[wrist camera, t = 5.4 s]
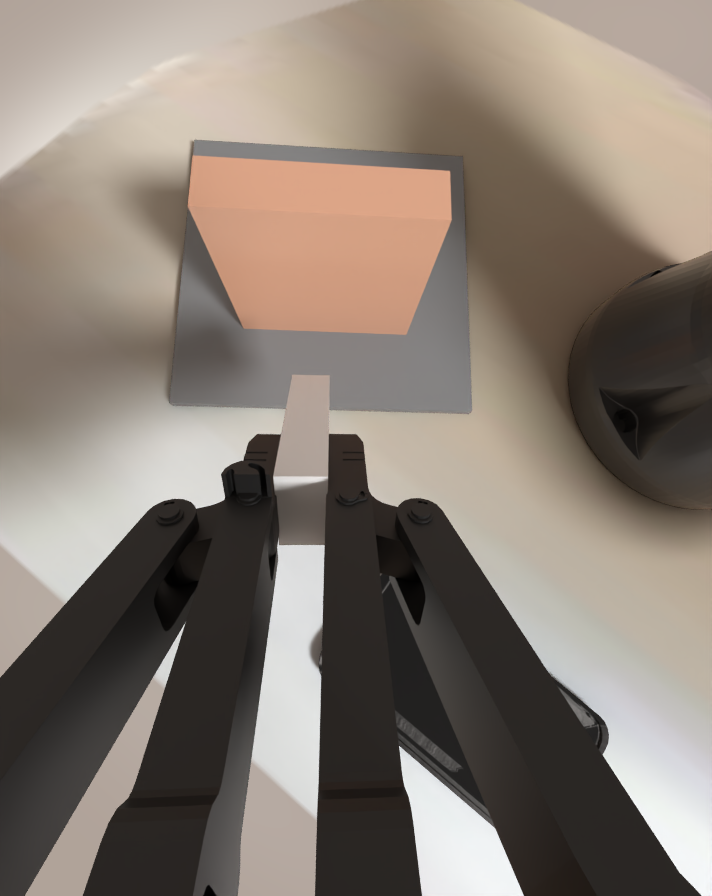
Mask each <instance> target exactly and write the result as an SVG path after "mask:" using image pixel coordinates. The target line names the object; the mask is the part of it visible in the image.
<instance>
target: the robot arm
mask: <svg viewBox="0 0 712 896" xmlns="http://www.w3.org/2000/svg"><path fill="white" fill-rule="evenodd" d="M329 386H330V375H292V379H291V385H290V390H289V395H288V401H287V406H286V411H285V417H284V422H283V427H282V432H281V435H276V434H257V435H256V436H255V437H254V438H253V439H252V440H251V441H250V442H249V443H248V446H247V450H246V454H245V456H244V461H239V462H236V463H234V464H231V465H230V466H228V467H227V468H225V469H224V471H223V472H222V474H221V476H222V482H223V487H224V493H225V500H224V501H222V502H220V503H217V504H214V505H211V506H207V507H203V508H198V509H196V508H195V506H194V505H193V504H192V503H191V502H189V501H187V500H184V499H171V500H167V501H163V502H161V503H159V504H157V505H155V506H153V507H152V508H151V509H150V510H149V511H147V513H146V514H145V515H144V516H143V517H142V518H141V519H140V520H139V522H138V523H137V524H136V525H135V526H134V527H133V528H132V529H131V531H130V532H129V533H128V534H127V535H126V536H125V537H124V539H123V540H122V541H121V542H120V543H119V544H118V545H117V546H116V548H115V549H114V550H113V551H112V552H111V553H110V554H109V555H108V557H107V558H106V559H105V560H104V561H103V562H102V563H101V564H100V566H99V567H98V568H97V569H96V570H95V571H94V572H93V574H92V575H91V576H90V577H89V578H88V579H87V580H86V581H85V583H84V584H83V585H82V586H81V587H80V588H79V589H78V590H77V592H76V593H75V594H74V595H73V596H72V597H71V598H70V599H69V601H68V602H67V603H66V604H65V605H64V606H63V607H62V609H61V610H60V611H59V612H58V613H57V614H56V615H55V616H54V618H53V619H52V620H51V621H50V622H49V623H48V624H47V626H46V627H45V628H44V629H43V630H42V631H41V632H40V633H39V634H38V636H37V637H36V638H35V639H34V640H33V641H32V642H31V644H30V645H29V646H28V647H27V648H26V649H25V651H23V653H22V654H21V655H20V656H19V657H18V658H17V659H16V661H15V662H14V663H13V664H12V665H11V666H10V667H9V668H8V669H7V671H6V672H5V673H4V674H3V675H2V676H1V677H0V896H25V894H26V892H27V891H28V889H29V887H30V886H31V884H32V882H33V881H34V879H35V877H36V875H37V874H38V872H39V870H40V869H41V867H42V865H43V864H44V862H45V860H46V858H47V857H48V855H49V853H50V852H51V850H52V848H53V847H54V844H55V843H56V841H57V840H58V838H59V836H60V835H61V833H62V831H63V830H64V828H65V826H66V824H67V823H68V821H69V819H70V817H71V816H72V814H73V812H74V811H75V809H76V807H77V806H78V804H79V802H80V801H81V799H82V797H83V796H84V794H85V792H86V790H87V789H88V787H89V785H90V784H91V782H92V780H93V778H94V777H95V775H96V773H97V772H98V770H99V768H100V767H101V765H102V763H103V761H104V760H105V758H106V756H107V755H108V753H109V751H110V750H111V748H112V746H113V744H114V743H115V741H116V739H117V738H118V736H119V734H120V732H121V731H122V729H123V727H124V726H125V724H126V722H127V721H128V719H129V717H130V715H131V714H132V712H133V710H134V709H135V707H136V705H137V704H138V702H139V700H140V698H141V697H142V695H143V693H144V692H145V690H146V688H147V686H148V685H149V683H150V681H151V680H152V678H153V676H154V675H155V673H156V671H157V670H158V668H159V666H160V664H161V663H162V661H163V659H164V658H165V656H166V654H167V653H168V651H169V649H170V647H171V646H172V644H173V642H174V641H175V639H176V637H177V636H178V634H179V632H180V630H181V629H182V627H183V625H184V624H185V622H186V624H185V627H184V630H183V633H182V636H181V639H180V643H179V646H178V649H177V652H176V655H175V658H174V662H173V665H172V668H171V671H170V674H169V677H168V681H167V684H166V687H165V690H164V693H163V697H162V700H161V703H160V706H159V710H158V712H157V716H156V719H155V722H154V725H153V729H152V732H151V735H150V738H149V741H148V744H147V747H146V751H145V754H144V757H143V760H142V763H141V767H140V770H139V773H138V776H137V779H136V782H135V785H134V787H133V790H132V792H131V794H130V796H129V798H128V799H127V800H126V801H125V802H124V803H123V804H122V805H121V806H119V807H118V808H117V810H116V811H115V813H114V815H113V816H112V818H111V820H110V822H109V823H108V826H107V829H106V831H105V834H104V836H103V838H102V841H101V843H100V846H99V849H98V852H97V855H96V858H95V862H94V864H93V868H92V870H91V873H90V876H89V879H88V882H87V885H86V888H85V891H84V894H83V896H238V886H239V875H240V844H241V832H242V824H243V817H244V809H245V801H246V794H247V787H248V780H249V772H250V764H251V757H252V750H253V742H254V735H255V727H256V720H257V712H258V705H259V698H260V690H261V683H262V675H263V668H264V660H265V653H266V645H267V638H268V630H269V623H270V616H271V608H272V601H273V593H274V586H275V578H276V571H277V563H278V553H277V544H278V537H279V545H325V556H324V596H323V635H322V675H321V714H320V754H319V789H318V810H317V844H316V882H315V883H316V884H315V896H422V893H421V885H420V876H419V868H418V859H417V851H416V843H415V834H414V826H413V819H412V812H411V807H410V802H409V797H408V795H407V792H406V790H405V787H404V783H403V777H402V770H401V761H400V752H399V743H398V734H397V724H396V715H395V706H394V697H393V688H392V679H391V670H390V661H389V652H388V642H387V633H386V624H385V615H384V606H383V597H382V588H381V579H380V573H381V574H385V575H388V576H389V579H390V582H391V584H392V586H393V589H394V591H395V593H396V596H397V598H398V600H399V603H400V605H401V608H402V610H403V612H404V615H405V617H406V619H407V622H408V624H409V626H410V629H411V631H412V633H413V636H414V638H415V640H416V643H417V645H418V648H419V650H420V652H421V655H422V657H423V659H424V662H425V664H426V666H427V669H428V671H429V673H430V676H431V678H432V680H433V683H434V685H435V687H436V690H437V692H438V695H439V697H440V699H441V702H442V704H443V706H444V709H445V711H446V713H447V716H448V718H449V720H450V723H451V725H452V727H453V730H454V732H455V734H456V737H457V739H458V742H459V744H460V746H461V749H462V751H463V753H464V756H465V758H466V760H467V763H468V765H469V767H470V770H471V772H472V774H473V777H474V779H475V781H476V784H477V786H478V789H479V791H480V793H481V796H482V798H483V800H484V803H485V805H486V807H487V810H488V812H489V814H490V817H491V819H492V821H493V824H494V826H495V829H496V831H497V833H498V836H499V838H500V840H501V843H502V845H503V847H504V850H505V852H506V854H507V857H508V859H509V861H510V864H511V866H512V868H513V871H514V873H515V876H516V878H517V880H518V883H519V885H520V887H521V890H522V892H523V894H524V896H701V895H700V894H699V893H698V891H697V890H696V889H695V888H694V887H693V886H692V885H691V884H690V883H689V882H688V881H687V880H686V879H685V878H684V877H683V876H682V875H681V874H680V873H679V871H678V870H677V868H676V867H675V865H674V864H673V862H672V861H671V859H670V858H669V856H668V855H667V853H666V851H665V850H664V848H663V847H662V845H661V844H660V842H659V841H658V839H657V838H656V836H655V835H654V833H653V832H652V830H651V829H650V827H649V826H648V824H647V822H646V821H645V819H644V818H643V816H642V815H641V813H640V812H639V810H638V809H637V807H636V806H635V804H634V803H633V801H632V800H631V798H630V796H629V795H628V793H627V792H626V790H625V789H624V787H623V786H622V784H621V783H620V781H619V780H618V778H617V777H616V775H615V774H614V772H613V771H612V769H611V767H610V766H609V764H608V763H607V761H606V760H605V758H604V757H603V755H602V754H601V752H600V751H599V749H598V748H597V746H596V745H595V743H594V742H593V740H592V738H591V737H590V735H589V734H588V732H587V731H586V729H585V728H584V726H583V725H582V723H581V722H580V720H579V719H578V717H577V716H576V714H575V712H574V711H573V709H572V708H571V706H570V705H569V703H568V702H567V700H566V699H565V697H564V696H563V694H562V693H561V691H560V690H559V688H558V687H557V685H556V683H555V682H554V680H553V679H552V677H551V676H550V674H549V673H548V671H547V670H546V668H545V667H544V665H543V664H542V662H541V661H540V659H539V658H538V656H537V654H536V653H535V651H534V650H533V648H532V647H531V645H530V644H529V642H528V641H527V639H526V638H525V636H524V635H523V633H522V632H521V630H520V628H519V627H518V625H517V624H516V622H515V621H514V619H513V618H512V616H511V615H510V613H509V612H508V610H507V609H506V607H505V606H504V604H503V603H502V601H501V599H500V598H499V596H498V595H497V593H496V592H495V590H494V589H493V587H492V586H491V584H490V583H489V581H488V580H487V578H486V577H485V575H484V574H483V572H482V570H481V569H480V567H479V566H478V564H477V563H476V561H475V560H474V558H473V557H472V555H471V554H470V552H469V551H468V549H467V548H466V546H465V544H464V543H463V541H462V540H461V538H460V537H459V535H458V534H457V532H456V531H455V529H454V528H453V526H452V525H451V523H450V522H449V520H448V519H447V517H446V515H445V514H444V512H443V511H442V510H441V509H440V508H439V507H438V505H437V504H435V503H433V502H431V501H429V500H425V499H421V498H413V499H409V500H406V501H403V502H402V503H401V504H400V505H399V506H398V507H395V506H391V505H387V504H384V503H382V502H380V501H378V500H376V499H375V498H374V497H373V496H372V495H371V494H370V492H369V489H368V483H367V474H366V464H365V455H364V446H363V442H362V441H361V439H360V438H359V437H358V436H357V434H329ZM569 392H570V399H571V404H572V408H573V411H574V415H575V418H576V420H577V423H578V425H579V428H580V430H581V432H582V434H583V436H584V438H585V439H586V441H587V443H588V444H589V446H590V448H591V449H592V450H593V452H594V453H595V455H596V456H597V457H598V458H599V460H600V461H601V462H602V463H603V464H604V465H605V466H606V467H607V468H608V469H609V470H610V471H611V472H612V473H613V474H614V475H615V476H616V477H617V478H619V479H620V480H621V481H622V482H624V483H625V484H626V485H628V486H629V487H631V488H632V489H634V490H635V491H637V492H639V493H641V494H643V495H645V496H646V497H648V498H651V499H653V500H656V501H658V502H661V503H664V504H667V505H671V506H675V507H680V508H687V509H712V251H711V252H708V253H706V254H704V255H702V256H699V257H697V258H694V259H692V260H689V261H687V262H684V263H681V264H675V265H671V266H666V267H663V268H660V269H658V270H655V271H652V272H649V273H647V274H645V275H643V276H641V277H639V278H637V279H635V280H634V281H632V282H630V283H629V284H627V285H626V286H624V287H623V288H622V289H620V290H619V291H618V292H617V293H615V294H614V295H613V296H612V297H610V298H609V299H608V300H607V301H605V302H604V303H603V304H602V305H601V306H599V307H598V308H597V309H596V310H595V311H594V312H593V313H592V314H591V316H590V317H589V318H588V319H587V321H586V322H585V324H584V325H583V327H582V328H581V330H580V332H579V334H578V336H577V338H576V341H575V343H574V346H573V349H572V353H571V358H570V364H569Z"/></svg>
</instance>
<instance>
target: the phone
mask: <svg viewBox="0 0 712 896" xmlns="http://www.w3.org/2000/svg"><path fill="white" fill-rule="evenodd" d="M380 579H381V588H382V597H383V606H384V615H385V624H386V633H387V642H388V652H389V661H390V670H391V679H392V688H393V697H394V706H395V715H396V724H397V734H398V743H399V746H400V747H401V748H403V749H404V750H405V751H406V752H407V753H408V754H410V755H411V756H412V757H413V758H414V759H415V760H416V761H418V762H419V763H420V764H421V765H422V766H423V767H425V768H426V769H427V770H428V771H429V772H430V773H432V774H433V775H434V776H435V777H436V778H437V779H439V780H440V781H441V782H442V783H443V784H444V785H446V786H447V787H448V788H449V789H450V790H451V791H453V792H454V793H455V794H456V795H457V796H458V797H460V798H461V799H462V800H463V801H464V802H465V803H467V804H468V805H469V806H470V807H471V808H472V809H474V810H475V811H476V812H477V813H478V814H479V815H481V816H482V817H483V818H484V819H485V820H486V821H488V822H489V823H490V824H491V825H492V826H493V827H495V826H494V824H493V821H492V819H491V817H490V814H489V812H488V810H487V807H486V805H485V803H484V800H483V798H482V796H481V793H480V791H479V789H478V786H477V784H476V781H475V779H474V777H473V774H472V772H471V770H470V767H469V765H468V763H467V760H466V758H465V756H464V753H463V751H462V749H461V746H460V744H459V742H458V739H457V737H456V734H455V732H454V730H453V727H452V725H451V723H450V720H449V718H448V716H447V713H446V711H445V709H444V706H443V704H442V702H441V699H440V697H439V695H438V692H437V690H436V687H435V685H434V683H433V680H432V678H431V676H430V673H429V671H428V669H427V666H426V664H425V662H424V659H423V657H422V655H421V652H420V650H419V648H418V645H417V643H416V640H415V638H414V636H413V633H412V631H411V629H410V626H409V624H408V622H407V619H406V617H405V615H404V612H403V610H402V608H401V605H400V603H399V600H398V598H397V596H396V593H395V591H394V589H393V586H392V584H391V582H390V579H389V576H388V575H385V574H381V573H380ZM319 671H320V674H321V675H322V651H321V654H320V659H319ZM552 679H553V680H554V682H555V683H556V685H557V687H558V688H559V690H560V691H561V693H562V694H563V696H564V697H565V699H566V700H567V702H568V703H569V705H570V706H571V708H572V709H573V711H574V712H575V714H576V716H577V717H578V719H579V720H580V722H581V723H582V725H583V726H584V728H585V729H586V731H587V732H588V734H589V735H590V737H591V738H592V740H593V742H594V743H595V745H596V746H597V748H598V749H599V751H600V752H601V754H603V753H604V751H605V749H606V747H607V744H608V739H609V734H608V728H607V726H606V724H605V722H604V721H603V719H602V718H601V717H600V716H599V715H598V714H596V713H595V712H594V711H593V710H592V709H590V708H589V707H588V706H587V705H585V704H584V703H583V702H582V701H581V700H579V699H578V698H577V697H576V696H574V695H573V694H572V693H571V692H570V691H568V690H567V689H566V688H565V687H563V686H562V685H561V684H560V683H559V682H557V681H556V680H555V679H554V678H552Z"/></svg>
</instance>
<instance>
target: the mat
mask: <svg viewBox="0 0 712 896" xmlns="http://www.w3.org/2000/svg"><path fill="white" fill-rule="evenodd" d="M193 155H194V156H211V157H228V158H244V159H261V160H278V161H294V162H311V163H327V164H344V165H361V166H377V167H394V168H411V169H427V170H444V171H450V183H451V216H452V221H451V223H450V226H449V228H448V231H447V233H446V236H445V238H444V241H443V243H442V246H441V248H440V251H439V253H438V256H437V258H436V261H435V263H434V266H433V269H432V271H431V274H430V276H429V279H428V281H427V284H426V286H425V289H424V291H423V294H422V296H421V299H420V301H419V304H418V306H417V309H416V311H415V314H414V317H413V319H412V322H411V324H410V327H409V329H408V332H407V334H406V335H396V334H371V333H345V332H319V331H293V330H267V329H244V328H243V326H242V324H241V322H240V320H239V317H238V315H237V313H236V311H235V309H234V307H233V304H232V302H231V300H230V298H229V296H228V293H227V291H226V289H225V287H224V285H223V282H222V280H221V278H220V276H219V274H218V271H217V269H216V267H215V265H214V263H213V260H212V258H211V256H210V254H209V252H208V249H207V247H206V245H205V243H204V241H203V238H202V236H201V234H200V232H199V230H198V227H197V225H196V223H195V221H194V219H193V217H192V214H191V212H190V210H189V208H188V212H187V223H186V233H185V243H184V254H183V264H182V274H181V285H180V295H179V305H178V316H177V326H176V336H175V347H174V357H173V367H172V378H171V388H170V398H169V403H170V404H172V405H176V406H211V407H246V408H281V409H286V406H287V401H288V395H289V390H290V385H291V379H292V375H330V386H329V410H351V411H386V412H421V413H456V414H469V413H471V412H472V395H471V368H470V341H469V313H468V286H467V259H466V232H465V204H464V177H463V156H448V155H432V154H415V153H399V152H383V151H367V150H351V149H335V148H319V147H303V146H287V145H271V144H255V143H239V142H222V141H206V140H194V151H193Z"/></svg>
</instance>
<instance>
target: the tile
mask: <svg viewBox="0 0 712 896" xmlns="http://www.w3.org/2000/svg"><path fill="white" fill-rule="evenodd" d="M188 208H189V210H190V212H191V214H192V217H193V219H194V221H195V223H196V225H197V227H198V230H199V232H200V234H201V236H202V238H203V241H204V243H205V245H206V247H207V249H208V252H209V254H210V256H211V258H212V260H213V263H214V265H215V267H216V269H217V271H218V274H219V276H220V278H221V280H222V282H223V285H224V287H225V289H226V291H227V293H228V296H229V298H230V300H231V302H232V304H233V307H234V309H235V311H236V313H237V315H238V317H239V320H240V322H241V324H242V326H243V328H244V329H267V330H293V331H319V332H345V333H371V334H396V335H406V334H407V332H408V329H409V327H410V324H411V322H412V319H413V317H414V314H415V311H416V309H417V306H418V304H419V301H420V299H421V296H422V294H423V291H424V289H425V286H426V284H427V281H428V279H429V276H430V274H431V271H432V269H433V266H434V263H435V261H436V258H437V256H438V253H439V251H440V248H441V246H442V243H443V241H444V238H445V236H446V233H447V231H448V228H449V226H450V223H451V221H452V216H451V183H450V171H444V170H427V169H411V168H394V167H377V166H361V165H344V164H327V163H311V162H294V161H278V160H261V159H244V158H228V157H211V156H194V155H193V157H192V167H191V177H190V188H189V198H188Z"/></svg>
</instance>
